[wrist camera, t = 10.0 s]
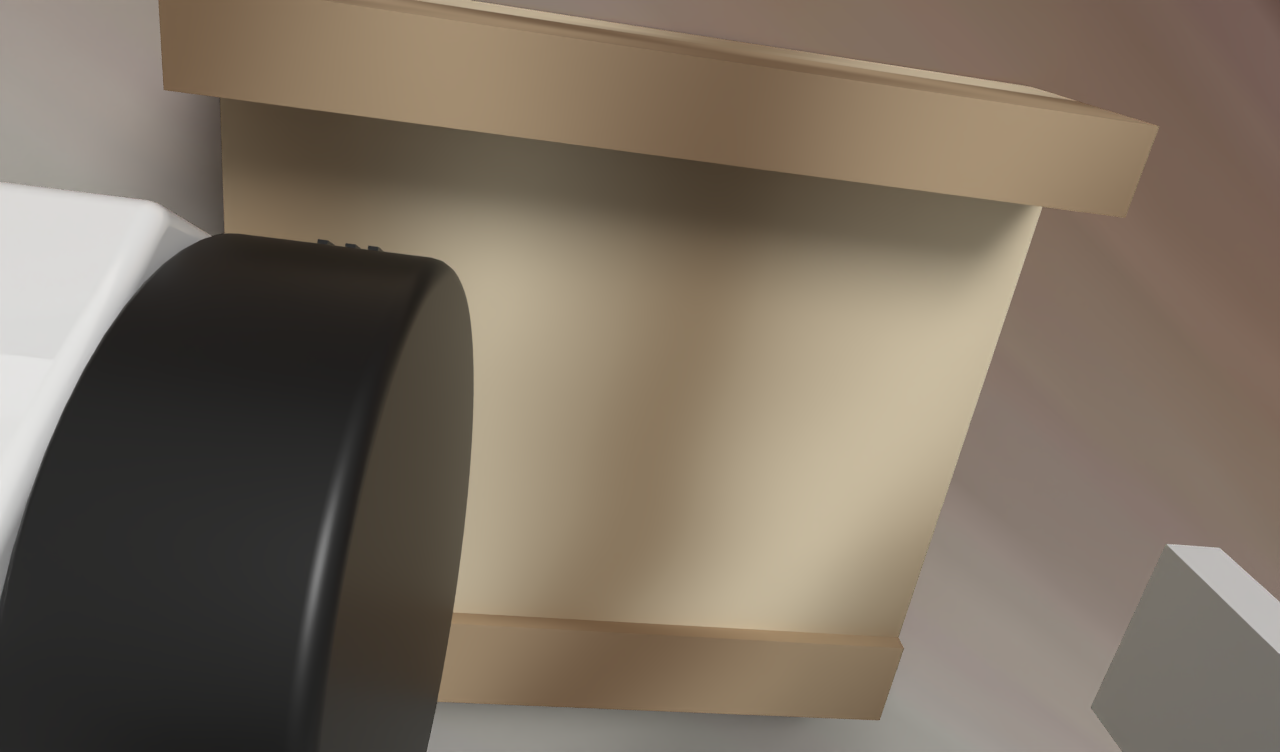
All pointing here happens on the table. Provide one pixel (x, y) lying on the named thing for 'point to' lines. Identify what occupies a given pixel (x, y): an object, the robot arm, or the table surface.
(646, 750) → the table surface
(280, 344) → the jar
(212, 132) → the table surface
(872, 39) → the table surface
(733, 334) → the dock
